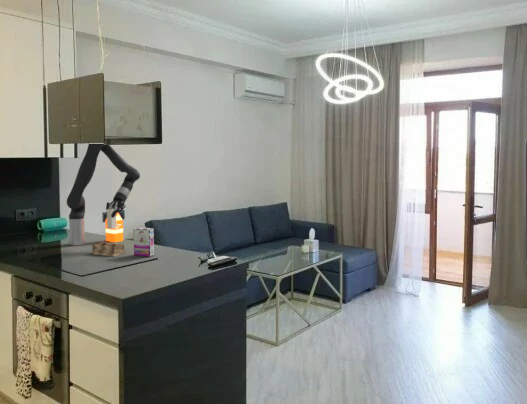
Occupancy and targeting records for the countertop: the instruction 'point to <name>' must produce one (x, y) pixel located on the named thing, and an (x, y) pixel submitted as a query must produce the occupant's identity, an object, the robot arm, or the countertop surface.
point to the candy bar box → (144, 242)
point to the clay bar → (111, 219)
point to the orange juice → (115, 230)
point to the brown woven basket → (108, 249)
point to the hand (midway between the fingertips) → (109, 216)
